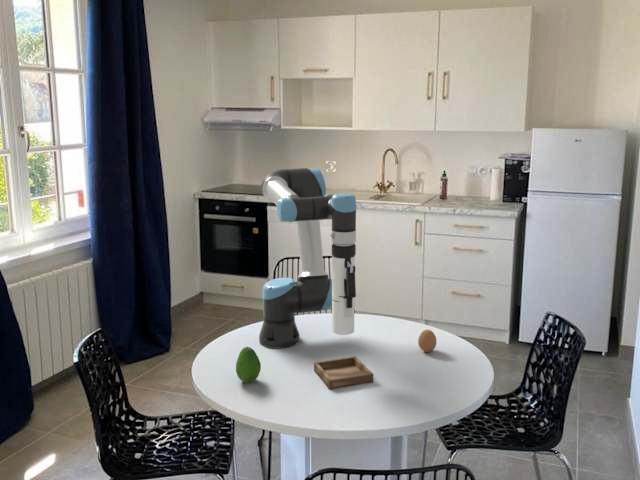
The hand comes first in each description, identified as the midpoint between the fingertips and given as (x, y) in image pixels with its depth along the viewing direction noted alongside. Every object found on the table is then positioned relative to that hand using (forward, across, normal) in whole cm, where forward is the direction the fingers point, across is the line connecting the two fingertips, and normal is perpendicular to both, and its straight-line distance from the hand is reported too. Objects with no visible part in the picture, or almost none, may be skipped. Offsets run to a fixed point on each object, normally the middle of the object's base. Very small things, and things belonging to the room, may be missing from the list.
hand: (343, 312), depth 208 cm
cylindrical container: (+6, 0, 0) cm, 6 cm away
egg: (+22, -9, +36) cm, 43 cm away
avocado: (+22, -7, -30) cm, 38 cm away
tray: (+22, 0, 0) cm, 22 cm away
